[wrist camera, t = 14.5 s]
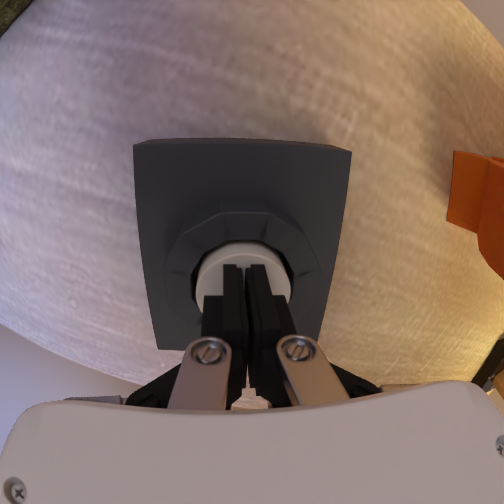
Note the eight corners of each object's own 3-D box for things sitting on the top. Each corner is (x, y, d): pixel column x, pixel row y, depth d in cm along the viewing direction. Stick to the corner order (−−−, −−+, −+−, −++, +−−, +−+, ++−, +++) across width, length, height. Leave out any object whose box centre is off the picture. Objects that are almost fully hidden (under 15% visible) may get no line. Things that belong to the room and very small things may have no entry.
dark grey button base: (305, 319, 20) (324, 370, 16) (164, 320, 19) (152, 373, 15) (330, 145, 15) (372, 157, 10) (149, 139, 14) (116, 149, 10)
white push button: (278, 305, 15) (285, 331, 13) (200, 306, 14) (198, 332, 13) (286, 234, 13) (296, 254, 11) (197, 233, 13) (193, 253, 11)
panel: (496, 373, 32) (504, 383, 30) (465, 388, 31) (472, 400, 29) (524, 329, 28) (533, 338, 25) (496, 340, 27) (506, 352, 24)
